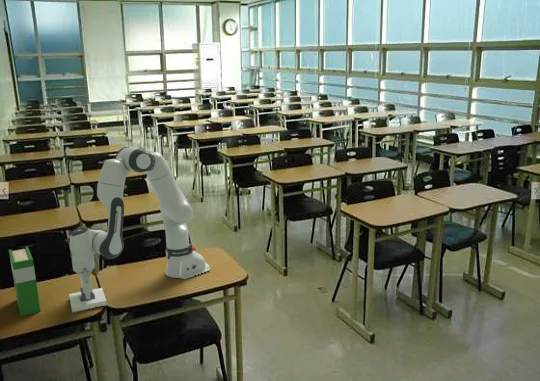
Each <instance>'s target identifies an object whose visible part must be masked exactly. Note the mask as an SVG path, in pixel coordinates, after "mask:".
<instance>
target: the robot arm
mask: <svg viewBox="0 0 540 381" xmlns="http://www.w3.org/2000/svg"><path fill="white" fill-rule="evenodd" d="M130 172H131V173H132V172H135V173H145V174H146V175H147V179H148V181H149V182H150V185H151V187H152V188H153V192H154V193H155V195H156V196H157V198H158V199H159V202H158V207H159V210H160V213H161V214H160V215H161V218H162V224H163V228H164V232H165V243H166V246H165V257H166V266H165V272H164V274H165V275H166V276H167V277H168V278H169V277H170V278H174V279H175V278H176V279H178V278H179V279H182V280H185V279H189V278H192V277H196V276H199V275H202V274H201V273H203V274H205V273H204V272H206V273H208V272H207V271H209V270H210V271H211V268H210V265H209V264H208V263H207V262H205V258H204V257H203V255H202V254H200V253H198V252H197V251H196V250H197V248H196V246H194V245H193V244H191V243H190V240H189V229H188V226H187V223H189V222H190V221H191V220H192V218H193V216H194V209H193V208H192V206H191V205H190V203H189V201H188V200H187V197H186V196H185V195H184V193H183V191H182V190H181V188H180V186H179V185H178V183H177V181H176V179H175V176H174V175H173V172H172V169H171V168H170V166H169V164H168V161H166V158H165V157H164V156H163V155H162V154H161V153H160V152H157V151H152V152H149V151H147V150H146V149H145V148H140V147H137V146H125V147H122V148H120V149H119V150H117V153H116V154H115V155H114V157H113V158H111V159H110V158H109V159H107V160H106V161H104V162H103V165H102V167H101V170H100V173H99V176H98V182H97V185H96V186H97V188H96V196H97V198H98V200H99V201H100V203H102V205H104V207H105V209H106V211H107V215H108V220H107V229H106V230H107V231H105V230H101V229H91V228H88V227H86V226H85V227H84V226H82V227H77V228H75V229H74V230H72V231H71V233H70V236H69V246H70V247H69V249H70V252H71V255H72V256H71V265H72V270H73V272H74V273H76V274H77V275H79V279H80V285H81V286H82V287H81V288H83V292H84V293H85V295H86V299H90V298H91V297H90V292H92V290H93V289H94V288H93V283H92V277H91V276H92V275H91V273H92V272H93V270H94V269H95V267H96V264H95V256H94V255H95V254H97V253H98V254H99V255H101V256H102V257H103V258H105V259H108V260H111V259H112V260H113V259H116V258H117V257H119V256H120V255H121V253H122V252H123V250H124V238H123V229H124V228H123V227H124V217H125V205H124V204H125V203H124V190H125V189H124V188H125V183H126V179H127V176H128V175H129V173H130ZM210 271H209V272H210ZM198 274H199V275H198ZM195 275H196V276H195Z"/></svg>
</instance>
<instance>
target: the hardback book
mask: <svg viewBox="0 0 540 381" xmlns="http://www.w3.org/2000/svg"><path fill="white" fill-rule="evenodd" d="M8 254H9V259H10V265H11V272H12V273H11V274H12V278H13V286H14V292H15V297H16V302H17V305H18V310H19V314H20V316H21V317H25V316H28V315H33V314H36V313H39V312H41V307H40V306H41V305H40V298H39V292H38V285H37V284H38V283H37V278H36V271H35V265H34V259H33V256H32V254H31V251H30V248H29V247H28V246H27V245H26V246H25V248H22V249H17V250H12V249H8Z"/></svg>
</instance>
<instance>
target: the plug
mask: <svg viewBox="0 0 540 381" xmlns="http://www.w3.org/2000/svg"><path fill="white" fill-rule="evenodd" d="M80 292H81V297H82V301H87V300H92V299H93V291H92V292H90V297H91V298H90V299H86V295H85V293H84V292H83V288H82V287H80Z"/></svg>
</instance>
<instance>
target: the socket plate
mask: <svg viewBox="0 0 540 381" xmlns="http://www.w3.org/2000/svg"><path fill="white" fill-rule="evenodd" d="M92 289H93V290H92V291H93V299H92V300H87V301H82V297H81V291H78V292H74V293H69V294H68V295H69V302H70V308H71V314H76V313H81V312H84V311H89V310H88V309H90V310H93V309H92V308H94V309H96V308H95V307H98V306H104V307H107V306H108V305H107V299H106V296H105V293H104V289H103V287H100V288H92Z"/></svg>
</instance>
